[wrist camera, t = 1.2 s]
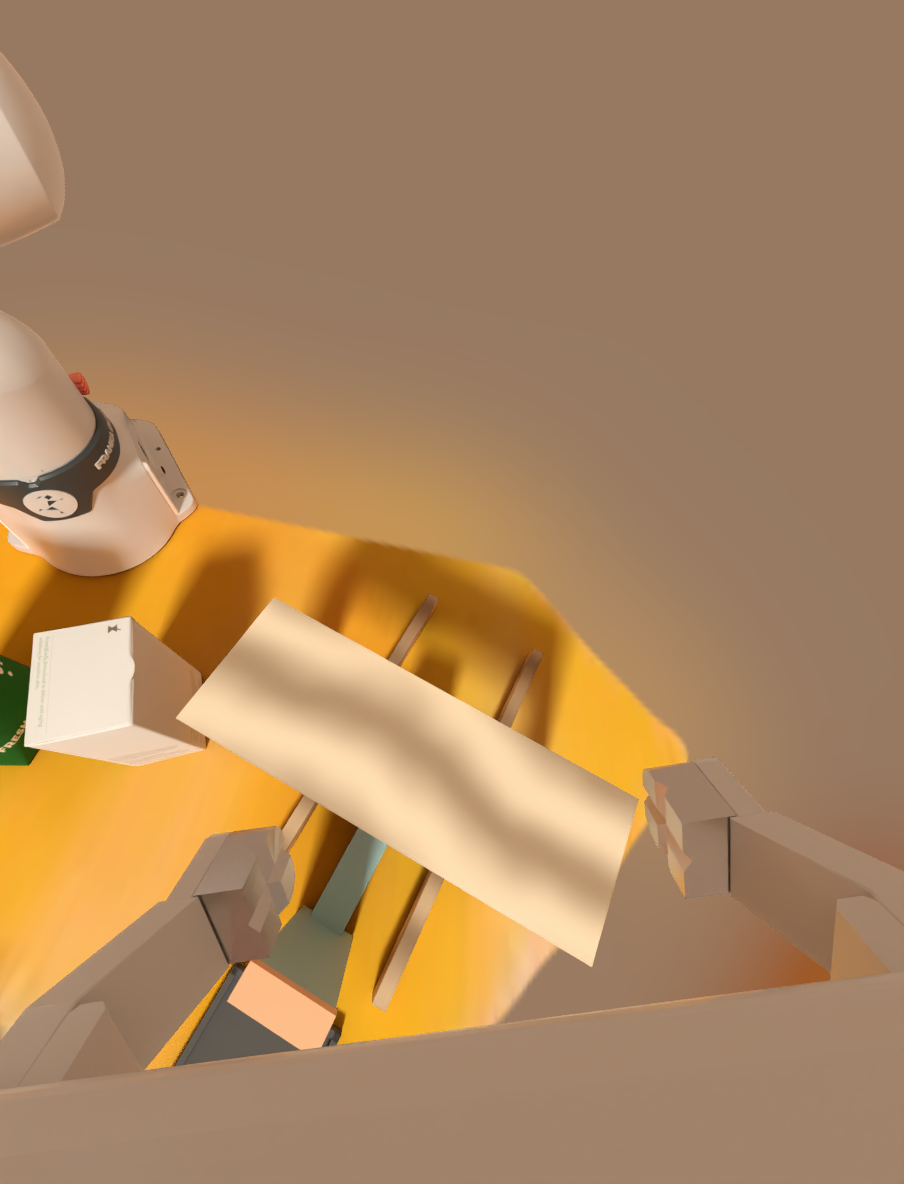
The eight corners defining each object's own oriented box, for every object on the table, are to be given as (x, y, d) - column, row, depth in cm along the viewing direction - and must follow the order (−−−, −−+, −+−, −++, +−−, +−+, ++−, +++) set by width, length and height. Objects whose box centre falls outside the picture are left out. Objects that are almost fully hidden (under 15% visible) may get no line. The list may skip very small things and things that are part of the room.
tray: (279, 1163, 33) (276, 1173, 32) (165, 1084, 34) (159, 1091, 33) (341, 1030, 36) (340, 1035, 36) (237, 962, 37) (233, 965, 36)
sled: (373, 978, 38) (366, 1093, 22) (261, 907, 39) (179, 969, 23) (481, 744, 47) (530, 708, 32) (389, 693, 48) (393, 632, 33)
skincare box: (135, 684, 46) (28, 627, 32) (207, 670, 47) (134, 609, 33) (134, 771, 42) (14, 749, 29) (211, 752, 44) (132, 723, 30)
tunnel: (449, 1041, 37) (511, 1253, 19) (181, 871, 40) (14, 916, 22) (583, 685, 52) (689, 617, 34) (383, 579, 55) (383, 462, 37)
